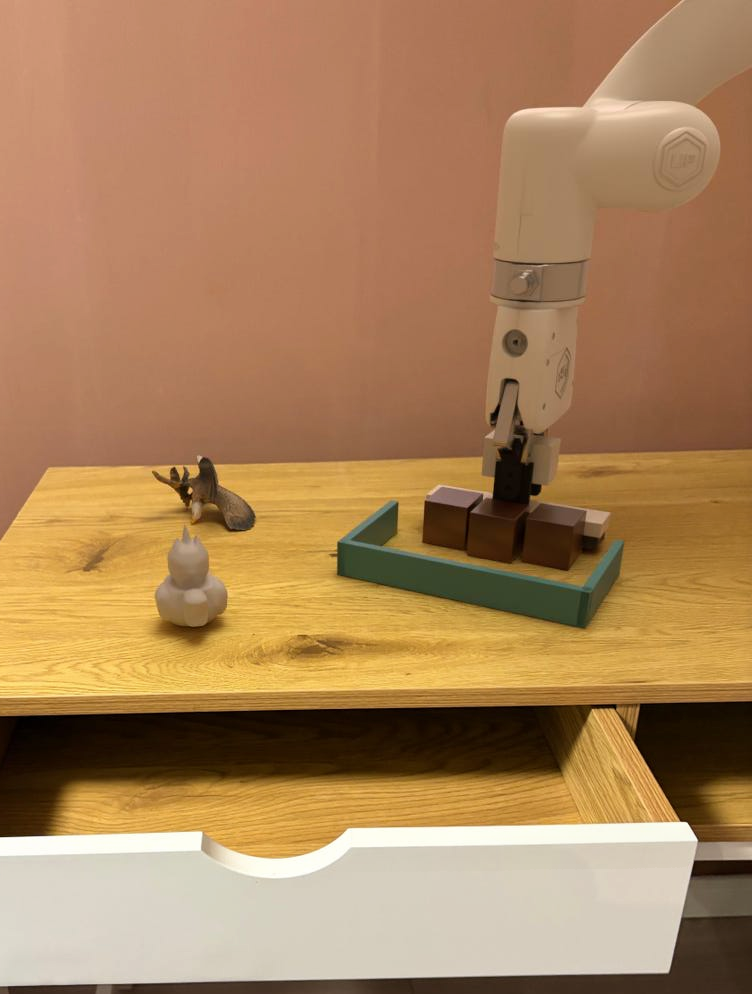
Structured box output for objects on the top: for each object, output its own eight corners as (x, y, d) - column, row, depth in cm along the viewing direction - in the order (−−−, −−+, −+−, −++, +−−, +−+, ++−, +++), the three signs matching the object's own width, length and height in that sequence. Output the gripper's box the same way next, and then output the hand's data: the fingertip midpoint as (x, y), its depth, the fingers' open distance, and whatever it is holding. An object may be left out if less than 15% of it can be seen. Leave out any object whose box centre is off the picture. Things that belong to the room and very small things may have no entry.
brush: (607, 538, 86) (621, 445, 82) (598, 551, 84) (612, 455, 80) (437, 509, 93) (442, 421, 89) (424, 519, 91) (429, 430, 87)
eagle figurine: (141, 512, 92) (207, 516, 87) (158, 440, 93) (225, 439, 87) (196, 533, 98) (262, 538, 92) (212, 465, 99) (278, 466, 93)
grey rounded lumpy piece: (220, 602, 78) (215, 508, 74) (236, 640, 72) (231, 541, 68) (153, 610, 77) (144, 515, 73) (163, 650, 71) (154, 549, 67)
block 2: (525, 547, 86) (530, 504, 84) (510, 563, 83) (515, 520, 81) (482, 539, 88) (486, 497, 86) (466, 555, 85) (469, 512, 83)
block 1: (480, 534, 89) (483, 493, 87) (464, 550, 86) (467, 507, 84) (439, 527, 90) (441, 486, 89) (422, 542, 88) (424, 500, 86)
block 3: (581, 553, 84) (587, 510, 83) (568, 570, 82) (574, 526, 80) (535, 545, 86) (540, 502, 84) (521, 561, 83) (526, 518, 81)
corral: (619, 574, 81) (625, 540, 79) (585, 628, 73) (590, 592, 71) (389, 530, 90) (390, 500, 89) (336, 574, 82) (337, 541, 81)
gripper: (555, 302, 70) (529, 537, 79) (611, 270, 82) (583, 477, 91) (457, 295, 74) (443, 521, 83) (524, 265, 86) (505, 466, 95)
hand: (516, 496), depth 87 cm, fingers closed on brush, 2 cm apart
